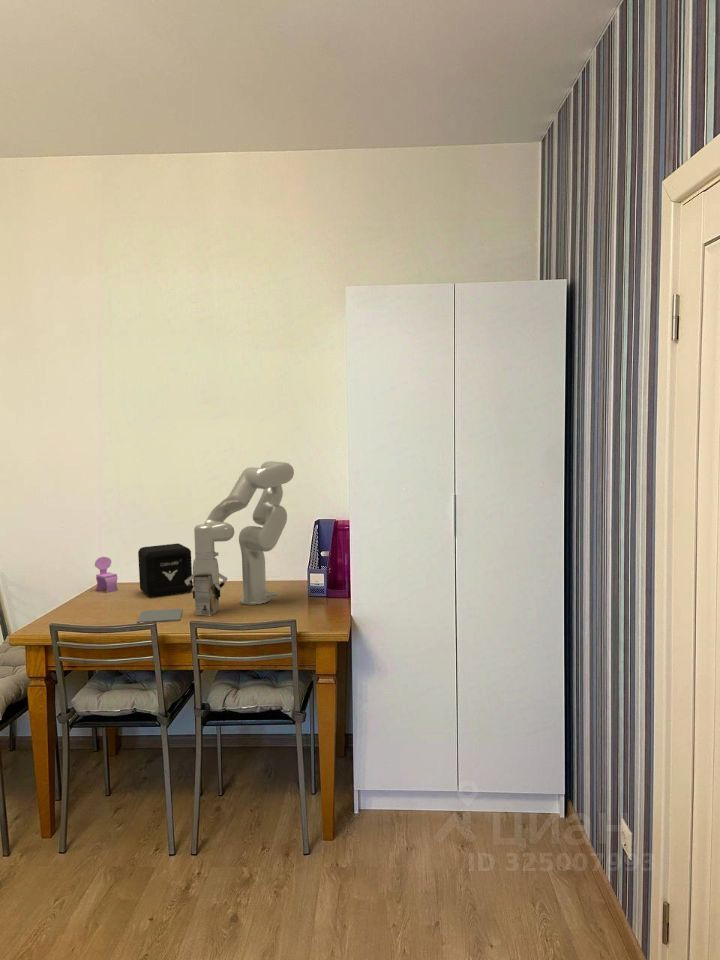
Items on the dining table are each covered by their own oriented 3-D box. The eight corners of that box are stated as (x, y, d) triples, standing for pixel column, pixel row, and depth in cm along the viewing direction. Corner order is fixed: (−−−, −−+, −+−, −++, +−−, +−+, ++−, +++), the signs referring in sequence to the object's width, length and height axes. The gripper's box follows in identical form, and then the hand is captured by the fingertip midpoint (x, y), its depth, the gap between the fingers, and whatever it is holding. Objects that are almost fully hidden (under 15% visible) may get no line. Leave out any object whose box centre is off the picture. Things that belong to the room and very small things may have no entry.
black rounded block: (147, 599, 338) (145, 552, 336) (139, 592, 351) (137, 547, 349) (194, 592, 348) (192, 547, 346) (184, 586, 361) (182, 542, 358)
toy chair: (104, 593, 349) (102, 560, 348) (93, 591, 355) (91, 558, 353) (120, 590, 356) (118, 557, 354) (109, 587, 361) (107, 555, 360)
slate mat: (182, 609, 319) (182, 608, 319) (180, 620, 304) (180, 619, 303) (141, 612, 317) (141, 610, 317) (137, 623, 301) (137, 621, 301)
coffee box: (204, 609, 319) (202, 570, 317) (219, 610, 318) (217, 570, 316) (195, 615, 310) (193, 575, 308) (210, 616, 309) (209, 576, 307)
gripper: (227, 553, 317) (229, 596, 318) (183, 555, 314) (185, 598, 316) (227, 556, 309) (229, 600, 311) (181, 558, 307) (183, 603, 308)
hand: (206, 599), depth 313 cm, fingers closed on coffee box, 8 cm apart
